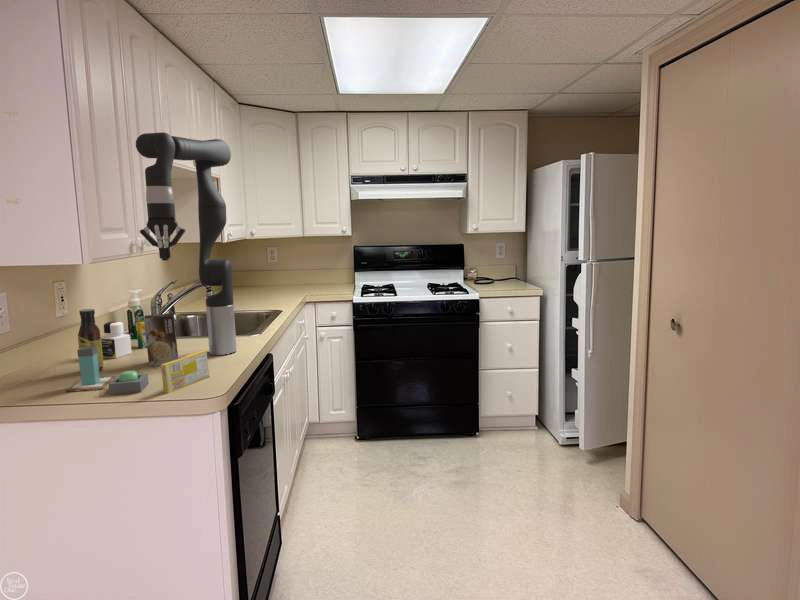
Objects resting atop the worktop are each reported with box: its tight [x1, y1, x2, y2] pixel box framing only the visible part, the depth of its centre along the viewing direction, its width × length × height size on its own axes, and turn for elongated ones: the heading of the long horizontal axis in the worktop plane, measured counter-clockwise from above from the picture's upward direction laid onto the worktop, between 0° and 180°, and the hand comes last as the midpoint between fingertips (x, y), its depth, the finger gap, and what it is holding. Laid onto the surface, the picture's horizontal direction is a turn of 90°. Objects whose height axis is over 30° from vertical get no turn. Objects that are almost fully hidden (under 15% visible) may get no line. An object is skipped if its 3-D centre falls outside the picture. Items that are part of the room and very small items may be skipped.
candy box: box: [160, 350, 210, 394], centre depth 151 cm, size 16×2×8 cm, turn 159°
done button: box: [118, 370, 139, 382], centre depth 147 cm, size 5×5×4 cm
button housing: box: [108, 373, 150, 395], centre depth 148 cm, size 8×8×3 cm
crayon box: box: [135, 315, 147, 349], centre depth 199 cm, size 7×3×12 cm, turn 150°
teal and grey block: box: [77, 346, 101, 385], centre depth 151 cm, size 4×4×10 cm
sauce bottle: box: [77, 308, 104, 372], centre depth 165 cm, size 6×6×20 cm
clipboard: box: [65, 375, 117, 392], centre depth 152 cm, size 11×10×1 cm
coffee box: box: [143, 313, 179, 367], centre depth 174 cm, size 9×6×16 cm
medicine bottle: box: [100, 321, 133, 359], centre depth 185 cm, size 7×7×12 cm
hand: (165, 260), depth 159 cm, fingers closed
